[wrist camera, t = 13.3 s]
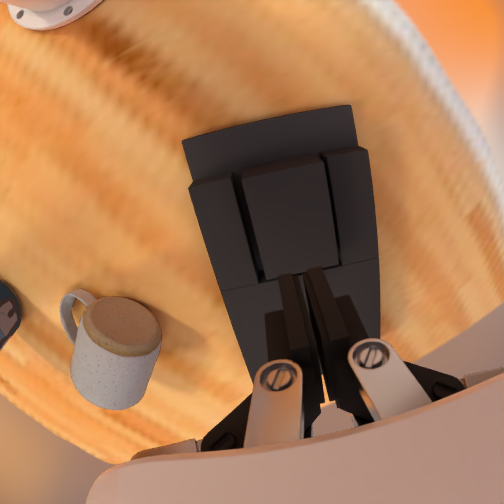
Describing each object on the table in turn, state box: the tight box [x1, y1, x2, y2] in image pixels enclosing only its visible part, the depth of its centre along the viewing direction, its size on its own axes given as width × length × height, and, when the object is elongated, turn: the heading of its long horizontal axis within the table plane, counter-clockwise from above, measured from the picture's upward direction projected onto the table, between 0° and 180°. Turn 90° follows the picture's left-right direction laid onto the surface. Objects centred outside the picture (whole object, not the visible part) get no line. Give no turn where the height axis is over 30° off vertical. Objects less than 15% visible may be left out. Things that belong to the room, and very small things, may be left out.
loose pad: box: [241, 154, 339, 280], centre depth 21 cm, size 7×5×4 cm
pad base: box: [182, 105, 380, 385], centre depth 24 cm, size 22×12×3 cm, turn 13°
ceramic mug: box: [60, 289, 162, 410], centre depth 25 cm, size 11×8×8 cm
